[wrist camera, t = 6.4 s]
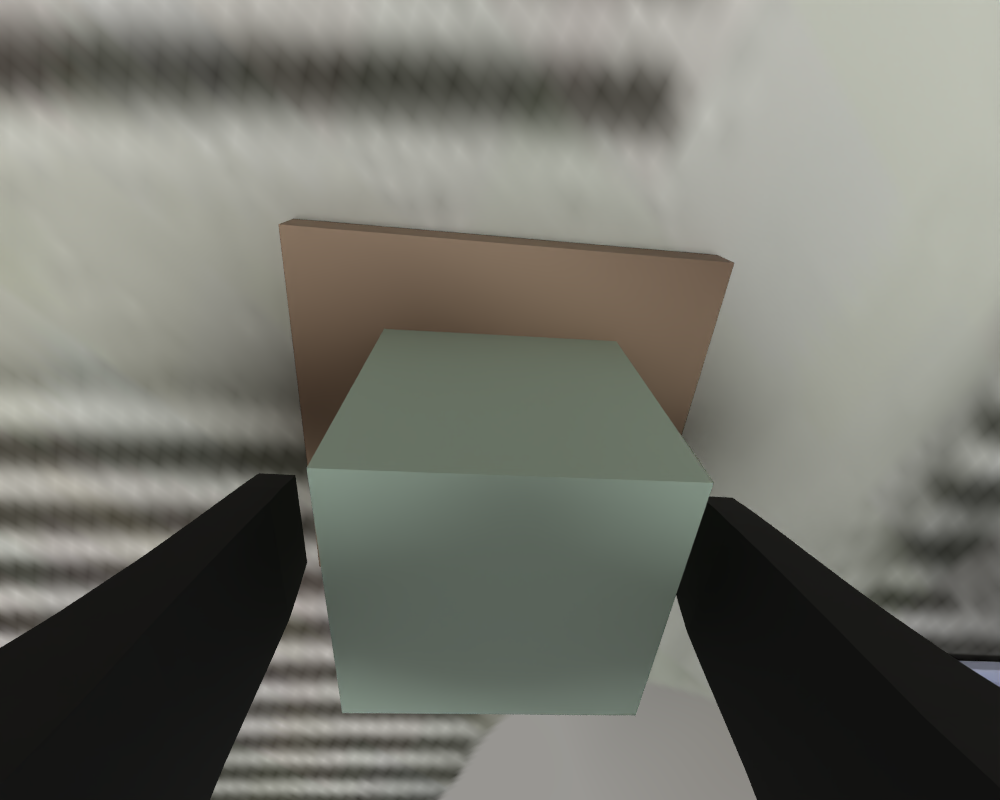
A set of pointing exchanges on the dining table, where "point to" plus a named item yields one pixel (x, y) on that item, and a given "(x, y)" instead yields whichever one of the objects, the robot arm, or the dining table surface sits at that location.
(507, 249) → the walnut board
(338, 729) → the dining table surface
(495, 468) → the green cube
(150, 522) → the dining table surface
